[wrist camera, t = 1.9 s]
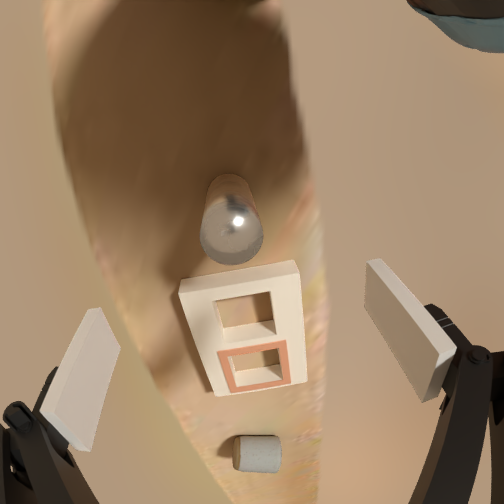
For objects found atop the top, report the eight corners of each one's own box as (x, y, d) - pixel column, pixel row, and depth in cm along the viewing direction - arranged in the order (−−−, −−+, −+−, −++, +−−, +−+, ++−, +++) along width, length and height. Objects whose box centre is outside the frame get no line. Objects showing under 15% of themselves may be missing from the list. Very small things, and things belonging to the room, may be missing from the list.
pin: (223, 165, 30) (223, 194, 20) (259, 189, 32) (276, 229, 22) (199, 200, 32) (187, 244, 22) (234, 222, 33) (239, 275, 23)
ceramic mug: (235, 428, 50) (237, 464, 43) (279, 428, 51) (285, 463, 44) (229, 452, 54) (231, 484, 48) (268, 452, 56) (272, 483, 49)
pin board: (181, 279, 35) (177, 294, 33) (293, 259, 36) (299, 273, 33) (215, 381, 43) (215, 397, 41) (303, 366, 44) (307, 382, 41)
